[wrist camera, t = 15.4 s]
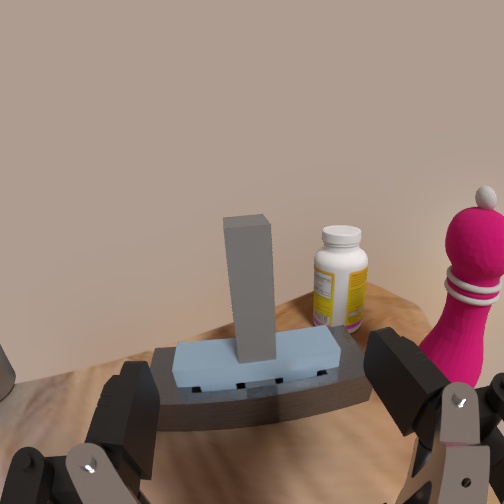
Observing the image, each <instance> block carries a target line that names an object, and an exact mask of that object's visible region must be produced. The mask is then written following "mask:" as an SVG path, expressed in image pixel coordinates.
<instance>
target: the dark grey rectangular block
mask: <svg viewBox="0 0 504 504" xmlns="http://www.w3.org/2000/svg"><path fill="white" fill-rule="evenodd" d="M328 329H329V331H330V332H331V334H332V335H333V337H334V339H335V340H336V342H337V344H338V345H339V347H340V349H341V353H340V360H339V367H334V368H330V369H325V370H320V371H317V377H312V378H307V379H302V380H297V381H291V382H286V383H280V384H276V382H275V379H268V380H261V381H253V382H245V389H236V390H226V391H215V392H201V387H200V386H198V387H177V384H176V381H175V378H174V375H173V372H172V368H173V362H174V357H175V351H176V347H167V348H155V351H154V354H153V358H152V362H151V366H150V371H151V373H152V376H153V378H154V381H155V384H156V386H157V389H158V391H159V396H160V410H159V417H158V424H157V431H204V430H220V429H232V428H241V427H250V426H258V425H265V424H271V423H278V422H283V421H289V420H294V419H299V418H304V417H309V416H313V415H318V414H322V413H326V412H330V411H334V410H338V409H341V408H345V407H348V406H352V405H355V404H359V403H362V402H365V401H368V400H369V398H370V395H371V391H372V388H373V387H372V385H371V384H370V382H369V381H368V379H367V377H366V376H365V373H364V369H363V362H364V357H365V354H364V352H363V351H362V349H361V348H360V347H359V345H358V344H357V343H356V341H355V340H354V338H353V337H352V336H351V334H350V333H349V332H348V330H347V329H346V327H345V326H344V325H340V326H335V327H330V328H328Z"/></svg>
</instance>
